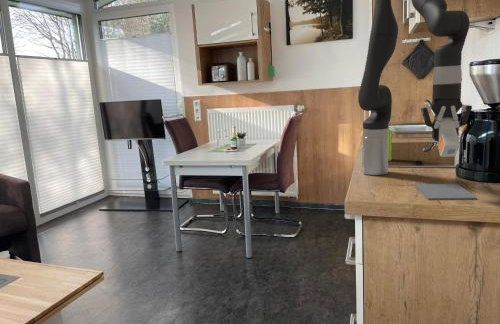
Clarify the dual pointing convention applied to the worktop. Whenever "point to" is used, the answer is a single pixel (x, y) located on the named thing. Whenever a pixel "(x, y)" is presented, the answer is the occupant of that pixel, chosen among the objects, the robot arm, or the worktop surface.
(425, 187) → the rubber mat
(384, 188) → the worktop surface
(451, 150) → the skincare box
